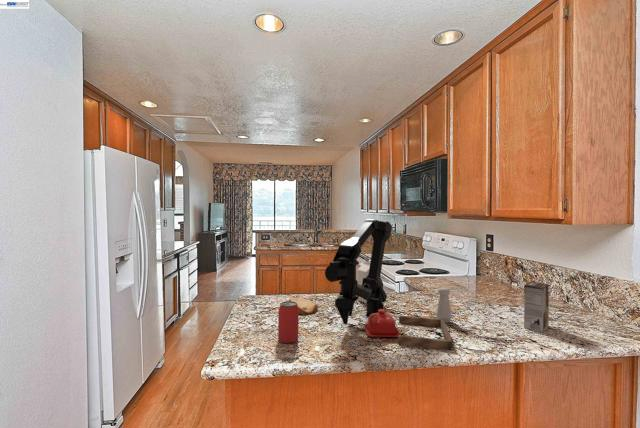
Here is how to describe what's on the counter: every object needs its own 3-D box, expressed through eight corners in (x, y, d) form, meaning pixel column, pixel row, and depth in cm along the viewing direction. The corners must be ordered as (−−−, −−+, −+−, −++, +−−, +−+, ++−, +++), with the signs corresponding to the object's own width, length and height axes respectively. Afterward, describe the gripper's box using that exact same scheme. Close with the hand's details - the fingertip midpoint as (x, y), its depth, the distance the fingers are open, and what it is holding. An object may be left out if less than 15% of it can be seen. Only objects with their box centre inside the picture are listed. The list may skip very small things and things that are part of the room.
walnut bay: (398, 344, 101) (398, 336, 101) (399, 321, 123) (399, 315, 123) (452, 350, 97) (452, 342, 97) (443, 325, 119) (443, 319, 119)
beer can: (278, 336, 107) (279, 300, 107) (298, 335, 107) (298, 300, 107) (277, 344, 100) (278, 306, 100) (298, 343, 100) (298, 306, 101)
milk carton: (366, 304, 147) (366, 263, 147) (357, 300, 153) (357, 261, 153) (378, 302, 150) (378, 262, 150) (369, 298, 156) (369, 260, 156)
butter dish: (402, 340, 105) (402, 314, 105) (367, 339, 105) (367, 314, 105) (394, 328, 117) (394, 305, 117) (363, 327, 117) (363, 304, 117)
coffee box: (529, 322, 124) (529, 281, 124) (549, 326, 119) (549, 284, 119) (523, 327, 118) (523, 284, 118) (544, 332, 113) (544, 287, 113)
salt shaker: (453, 324, 121) (453, 290, 121) (437, 323, 122) (437, 289, 122) (449, 319, 126) (450, 286, 126) (434, 318, 127) (435, 286, 127)
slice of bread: (291, 301, 152) (291, 293, 152) (326, 305, 145) (326, 297, 145) (272, 311, 135) (272, 302, 135) (311, 317, 128) (311, 307, 128)
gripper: (367, 284, 106) (366, 331, 106) (372, 274, 124) (372, 314, 124) (334, 282, 109) (334, 327, 108) (344, 272, 127) (344, 311, 126)
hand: (347, 319), depth 117 cm, fingers open, 9 cm apart
